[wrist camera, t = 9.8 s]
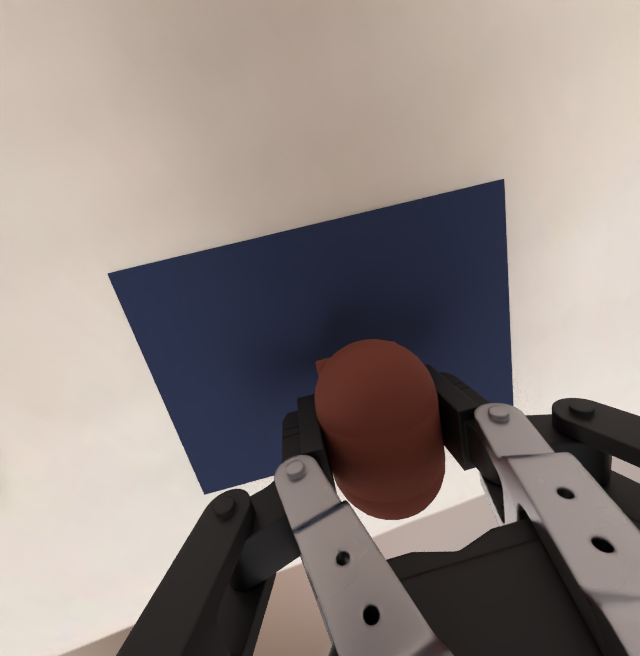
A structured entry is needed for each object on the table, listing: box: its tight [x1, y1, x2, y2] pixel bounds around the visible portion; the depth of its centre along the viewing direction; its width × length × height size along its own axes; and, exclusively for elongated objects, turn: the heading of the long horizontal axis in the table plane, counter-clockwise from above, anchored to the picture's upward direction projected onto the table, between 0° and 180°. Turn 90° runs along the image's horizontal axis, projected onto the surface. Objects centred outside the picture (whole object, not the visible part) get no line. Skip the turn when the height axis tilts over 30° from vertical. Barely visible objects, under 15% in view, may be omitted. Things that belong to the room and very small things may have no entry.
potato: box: [315, 339, 445, 520], centre depth 11 cm, size 7×4×4 cm, turn 13°
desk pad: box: [108, 179, 513, 494], centre depth 18 cm, size 15×22×1 cm
